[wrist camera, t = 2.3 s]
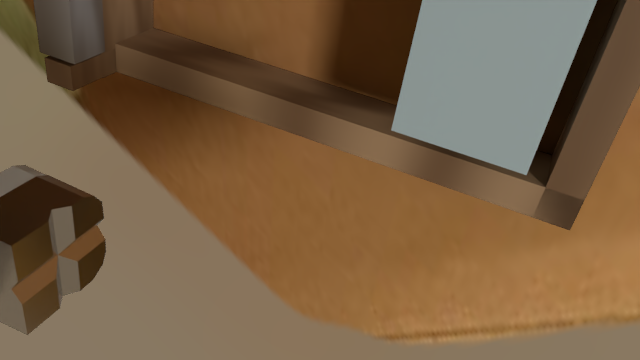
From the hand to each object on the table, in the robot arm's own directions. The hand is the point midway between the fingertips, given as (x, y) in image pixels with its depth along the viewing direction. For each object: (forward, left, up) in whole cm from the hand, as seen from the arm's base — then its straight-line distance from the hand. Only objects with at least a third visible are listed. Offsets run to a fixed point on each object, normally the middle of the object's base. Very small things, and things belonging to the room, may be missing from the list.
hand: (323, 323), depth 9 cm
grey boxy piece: (0, 0, -19) cm, 19 cm away
